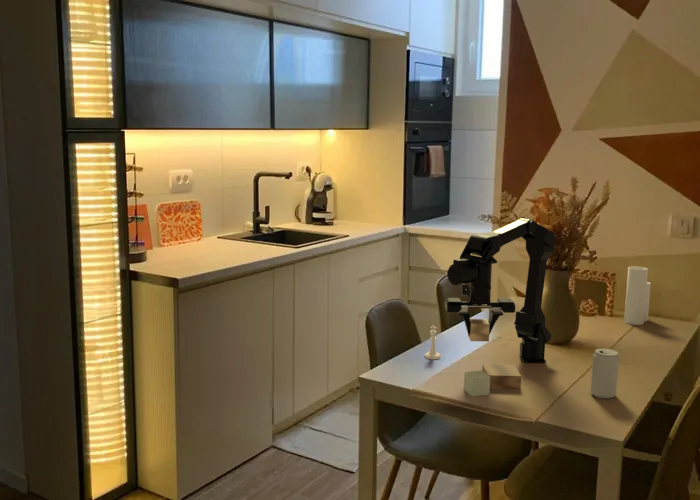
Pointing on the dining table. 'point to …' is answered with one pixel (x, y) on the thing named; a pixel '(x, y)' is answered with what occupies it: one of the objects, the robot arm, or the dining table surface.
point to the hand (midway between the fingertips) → (478, 335)
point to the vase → (637, 296)
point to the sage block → (476, 383)
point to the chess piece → (432, 346)
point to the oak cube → (479, 330)
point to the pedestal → (503, 376)
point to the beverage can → (604, 373)
